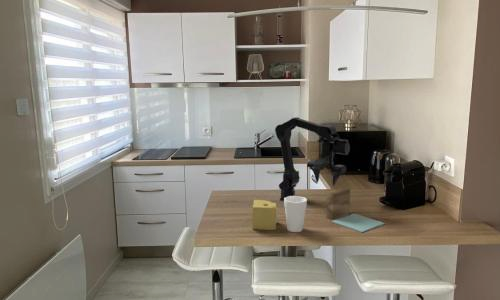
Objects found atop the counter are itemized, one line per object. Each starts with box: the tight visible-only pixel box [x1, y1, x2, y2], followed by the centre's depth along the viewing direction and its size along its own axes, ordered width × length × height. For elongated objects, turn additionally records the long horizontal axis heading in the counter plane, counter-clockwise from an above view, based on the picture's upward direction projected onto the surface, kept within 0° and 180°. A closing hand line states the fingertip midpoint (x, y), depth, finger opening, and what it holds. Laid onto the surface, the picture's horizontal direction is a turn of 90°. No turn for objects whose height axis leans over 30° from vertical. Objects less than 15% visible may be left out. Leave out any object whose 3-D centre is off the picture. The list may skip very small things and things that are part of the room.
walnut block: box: [325, 187, 351, 221], centre depth 180 cm, size 4×12×12 cm, turn 129°
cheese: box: [251, 199, 278, 231], centre depth 168 cm, size 10×11×10 cm
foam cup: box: [283, 195, 308, 233], centre depth 164 cm, size 10×9×13 cm
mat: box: [331, 213, 385, 233], centre depth 172 cm, size 16×16×1 cm
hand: (325, 183), depth 192 cm, fingers open, 9 cm apart
